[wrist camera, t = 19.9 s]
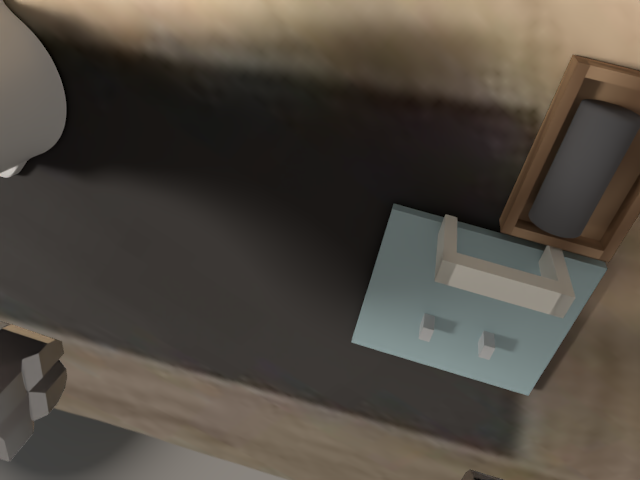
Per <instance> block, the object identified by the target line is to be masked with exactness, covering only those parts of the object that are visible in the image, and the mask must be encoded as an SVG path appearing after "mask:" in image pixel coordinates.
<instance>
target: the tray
mask: <svg viewBox="0 0 640 480" xmlns="http://www.w3.org/2000/svg"><path fill="white" fill-rule="evenodd" d="M584 99H594V100H600V101H605V102H609V103H612V104H615V105H618V106H621V107H624V108H626V109H628V110H631V111H633V112H634V113H636V114H638V115H639V116H640V71H637V70H633V69H629V68H625V67H621V66H617V65H613V64H609V63H605V62H601V61H596V60H592V59H588V58H584V57H580V56H576V55H573V56H572V58H571V60H570V62H569V64H568V67H567V69H566V71H565V73H564V76H563V78H562V80H561V82H560V85H559V87H558V89H557V91H556V94H555V96H554V98H553V100H552V102H551V105H550V107H549V109H548V111H547V114H546V116H545V118H544V120H543V123H542V125H541V127H540V129H539V132H538V134H537V136H536V138H535V140H534V143H533V145H532V147H531V149H530V152H529V154H528V156H527V158H526V161H525V163H524V165H523V167H522V170H521V172H520V174H519V176H518V178H517V181H516V183H515V185H514V187H513V190H512V192H511V194H510V196H509V199H508V201H507V203H506V205H505V208H504V210H503V212H502V214H501V216H500V219H499V222H500V231H501V233H505V234H509V235H512V236H516V237H520V238H523V239H527V240H530V241H534V242H538V243H541V244H545V245H548V246H552V247H556V248H559V249H563V250H566V251H570V252H574V253H577V254H581V255H585V256H588V257H592V258H595V259H599V260H603V261H606V262H610V260H611V258H612V257H613V255H614V254H615V252H616V250H617V249H618V247H619V246H620V244H621V242H622V241H623V239H624V238H625V236H626V234H627V233H628V231H629V229H630V228H631V226H632V225H633V223H634V221H635V220H636V218H637V217H638V215H639V213H640V128H639V130H638V132H637V134H636V136H635V137H634V139H633V141H632V143H631V145H630V147H629V148H628V150H627V152H626V154H625V156H624V157H623V159H622V161H621V163H620V165H619V166H618V168H617V170H616V172H615V174H614V176H613V177H612V179H611V181H610V183H609V185H608V186H607V188H606V190H605V192H604V194H603V196H602V197H601V199H600V201H599V203H598V205H597V206H596V208H595V210H594V212H593V214H592V216H591V217H590V219H589V221H588V223H587V225H586V226H585V228H584V230H583V232H582V234H581V235H580V236H579V237H577V238H563V237H559V236H555V235H552V234H550V233H548V232H545V231H544V230H542V229H540V228H539V227H537V226H536V225H535V224H534V223H533V222H532V221H531V220H530V218H529V215H528V214H529V211H530V209H531V207H532V205H533V203H534V201H535V199H536V197H537V194H538V192H539V190H540V188H541V186H542V184H543V182H544V179H545V177H546V175H547V173H548V171H549V169H550V167H551V165H552V162H553V160H554V158H555V156H556V154H557V152H558V150H559V148H560V145H561V143H562V141H563V139H564V137H565V135H566V133H567V131H568V128H569V126H570V124H571V122H572V120H573V118H574V116H575V114H576V111H577V109H578V107H579V105H580V103H581V101H582V100H584Z"/></svg>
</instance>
